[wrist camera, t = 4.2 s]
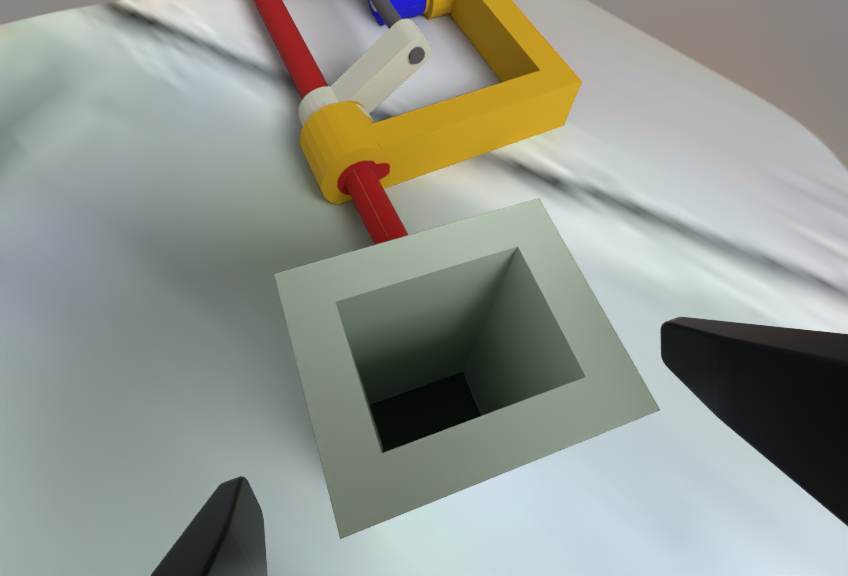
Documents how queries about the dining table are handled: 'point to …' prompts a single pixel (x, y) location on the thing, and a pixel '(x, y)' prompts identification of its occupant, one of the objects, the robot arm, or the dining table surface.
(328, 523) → the dining table surface
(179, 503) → the dining table surface
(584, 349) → the sleeve
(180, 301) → the dining table surface
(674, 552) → the dining table surface
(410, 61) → the mechanical clamp
